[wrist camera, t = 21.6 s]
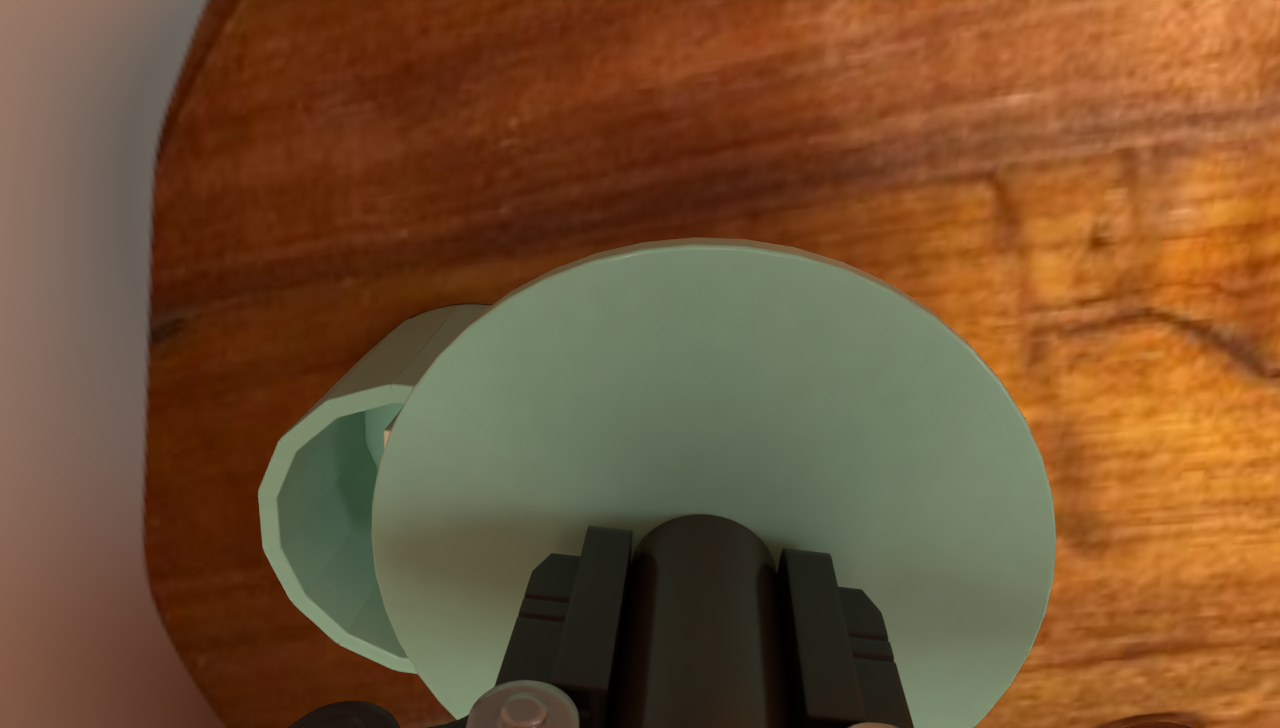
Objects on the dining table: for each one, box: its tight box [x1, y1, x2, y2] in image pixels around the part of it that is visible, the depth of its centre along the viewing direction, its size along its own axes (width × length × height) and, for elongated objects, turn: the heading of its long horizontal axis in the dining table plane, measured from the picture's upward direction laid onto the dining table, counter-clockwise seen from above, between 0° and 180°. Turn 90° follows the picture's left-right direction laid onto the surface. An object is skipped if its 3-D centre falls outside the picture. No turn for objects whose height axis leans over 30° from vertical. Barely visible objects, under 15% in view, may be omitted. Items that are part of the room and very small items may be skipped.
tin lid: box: [371, 237, 1056, 728], centre depth 12 cm, size 11×11×6 cm
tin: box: [258, 304, 491, 674], centre depth 29 cm, size 10×10×7 cm
